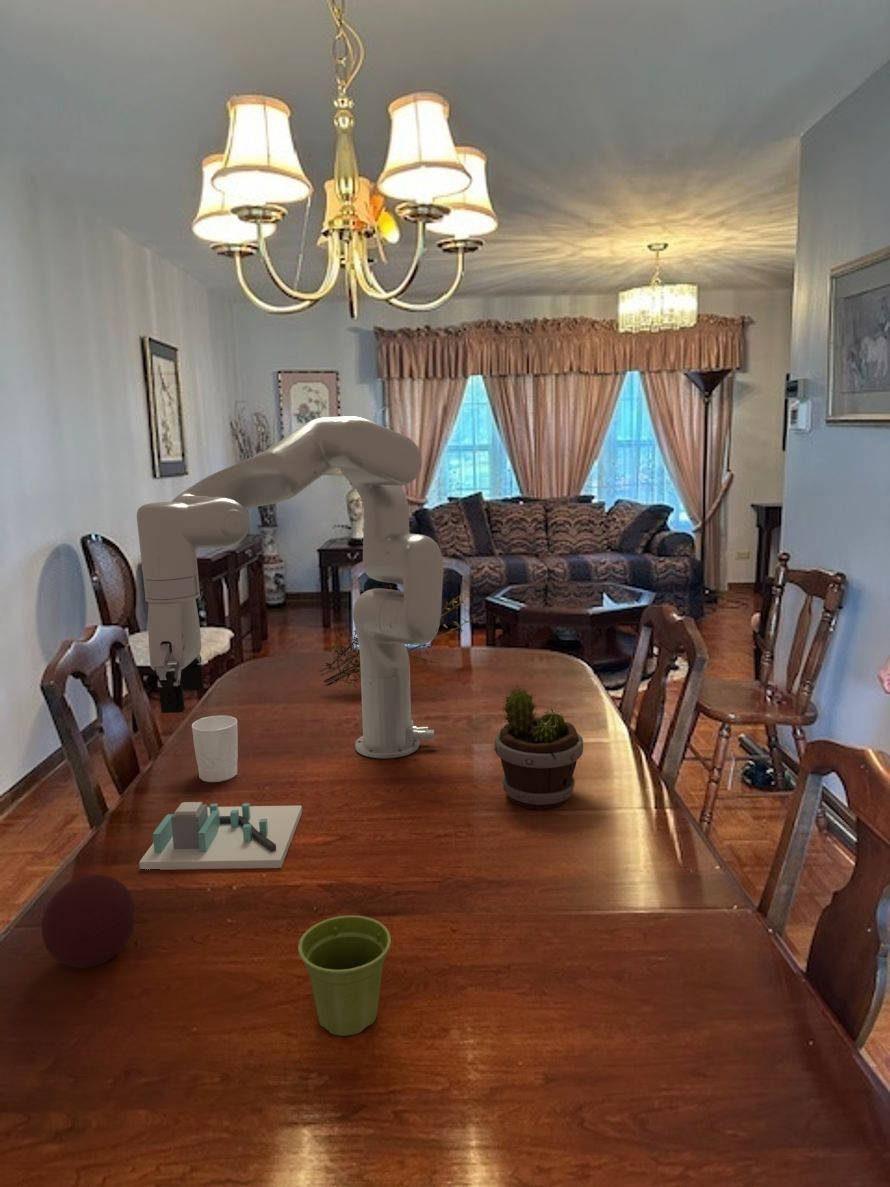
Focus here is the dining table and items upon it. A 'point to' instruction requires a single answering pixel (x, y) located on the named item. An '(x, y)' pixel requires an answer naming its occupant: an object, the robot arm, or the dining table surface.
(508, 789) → the flowerpot
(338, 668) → the dried plant
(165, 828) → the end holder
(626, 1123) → the dining table surface
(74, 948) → the decorative ball
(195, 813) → the block
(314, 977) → the plant pot
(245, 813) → the clips
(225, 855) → the board
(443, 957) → the dining table surface
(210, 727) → the white cup
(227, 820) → the cable
